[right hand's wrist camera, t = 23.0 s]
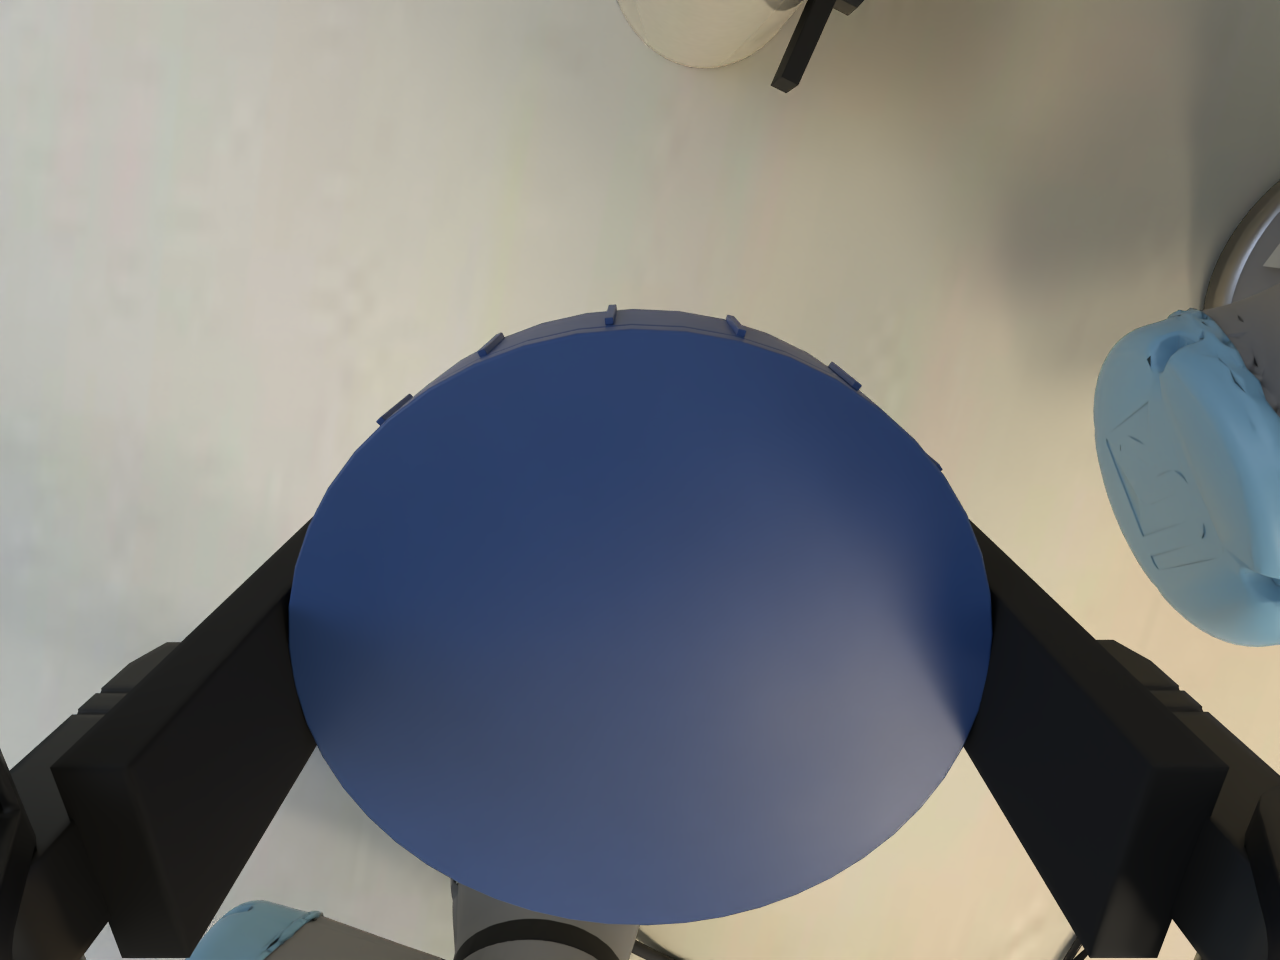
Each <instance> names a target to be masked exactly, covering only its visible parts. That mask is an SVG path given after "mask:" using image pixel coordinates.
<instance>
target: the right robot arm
mask: <svg viewBox="0 0 1280 960" xmlns="http://www.w3.org/2000/svg"><path fill="white" fill-rule="evenodd" d="M312 518H313V517H312ZM312 518H311V519H310V520H309V521H308V522H307V523H306V524H305V525H304V526H303V527H302V528H301V529H300V530H299V531H298V532H296V533H295V534H294V535H293V536H292V537H291V538H290V539H289V540H288V541H287V542H286V543H285V544H284V545H283V546H282V547H281V548H280V549H279V550H278V551H277V552H275V553H274V554H273V555H272V556H271V557H270V558H269V559H268V560H267V561H266V562H265V563H264V564H263V565H262V566H261V567H260V568H259V569H258V570H257V571H255V572H254V573H253V574H252V575H251V576H250V577H249V578H248V579H247V580H246V581H245V582H244V583H243V584H242V585H241V586H240V587H239V588H238V589H237V590H236V591H234V592H233V593H232V594H231V595H230V596H229V597H228V598H227V599H226V600H225V601H224V602H223V603H222V604H221V605H220V606H219V607H218V608H217V609H216V610H215V611H213V612H212V613H211V614H210V615H209V616H208V617H207V618H206V619H205V620H204V621H203V622H202V623H201V624H200V625H199V626H198V627H197V628H196V629H195V630H193V631H192V632H191V633H190V634H189V635H188V636H187V637H186V638H185V639H184V640H183V641H182V642H167V643H165V644H163V645H161V646H159V647H158V648H156V649H154V650H152V651H151V652H149V653H147V654H145V655H143V656H142V657H140V658H138V659H136V660H135V661H133V662H131V663H129V664H128V665H127V666H126V667H125V668H124V669H122V670H121V671H120V672H119V673H118V674H117V675H116V676H115V677H114V678H112V679H111V680H110V681H109V682H108V683H107V684H106V685H105V686H104V687H102V688H101V689H102V691H101V693H96V694H95V695H93V696H92V697H91V698H90V699H89V700H88V701H87V702H86V703H85V704H83V705H82V706H81V707H80V708H79V709H78V714H77V715H71V716H70V717H69V718H68V719H67V720H66V721H64V722H63V723H62V724H61V725H60V726H59V727H58V728H57V729H56V730H54V731H53V732H52V733H51V734H50V735H49V736H48V737H47V738H46V739H44V740H43V741H42V742H41V743H40V744H39V745H38V746H37V747H35V748H34V749H33V750H32V751H31V752H30V753H29V754H28V755H27V756H25V757H24V758H23V759H22V760H21V761H20V762H19V763H18V764H17V765H15V766H14V767H13V768H12V769H11V770H10V771H9V769H8V767H7V764H6V762H5V759H4V757H3V754H2V752H1V749H0V960H86V958H85V956H84V953H85V952H86V951H87V949H88V948H89V947H90V945H91V944H92V943H93V941H94V940H95V939H96V937H97V936H98V935H99V933H100V932H101V931H102V929H103V928H104V926H105V925H106V924H107V922H109V925H110V927H111V930H112V932H113V935H114V938H115V940H116V943H117V946H118V948H119V951H120V954H121V956H122V958H186V959H185V960H444V959H442V958H440V957H437V956H434V955H431V954H428V953H425V952H422V951H419V950H416V949H413V948H410V947H407V946H404V945H401V944H398V943H396V942H393V941H390V940H387V939H385V938H382V937H379V936H376V935H374V934H371V933H368V932H365V931H362V930H360V929H357V928H354V927H351V926H349V925H346V924H343V923H340V922H337V921H335V920H332V919H329V918H326V917H324V916H323V913H322V912H319V911H311V912H305V911H301V910H297V909H293V908H290V907H286V906H283V905H279V904H276V903H272V902H269V901H264V900H255V901H249V902H246V903H243V904H241V905H239V906H237V907H235V908H233V909H232V910H230V911H229V912H228V913H226V914H225V915H224V916H223V917H222V918H221V919H220V920H219V921H218V922H217V923H216V924H215V925H214V926H213V927H212V928H211V929H210V930H209V931H208V932H207V933H206V934H205V936H204V937H203V938H202V936H203V935H204V933H205V931H206V930H207V928H208V926H209V925H210V923H211V921H212V920H213V918H214V916H215V915H216V913H217V911H218V910H219V908H220V906H221V905H222V903H223V901H224V899H225V898H226V896H227V894H228V893H229V891H230V889H231V888H232V886H233V884H234V883H235V881H236V879H237V878H238V876H239V874H240V873H241V871H242V869H243V868H244V866H245V864H246V863H247V861H248V859H249V858H250V856H251V854H252V853H253V851H254V849H255V848H256V846H257V844H258V843H259V841H260V839H261V838H262V836H263V834H264V833H265V831H266V829H267V828H268V826H269V824H270V823H271V821H272V819H273V818H274V816H275V814H276V813H277V811H278V809H279V808H280V806H281V804H282V803H283V801H284V799H285V798H286V796H287V794H288V793H289V791H290V789H291V788H292V786H293V784H294V783H295V781H296V779H297V777H298V776H299V774H300V772H301V771H302V769H303V767H304V766H305V764H306V762H307V761H308V759H309V757H310V756H311V754H312V752H313V751H314V749H315V747H316V746H317V744H316V742H315V739H314V737H313V735H312V733H311V731H310V729H309V727H308V725H307V723H306V720H305V717H304V714H303V710H302V707H301V704H300V701H299V698H298V695H297V691H296V687H295V682H294V677H293V672H292V665H291V659H290V653H289V602H290V595H291V589H292V583H293V576H294V570H295V565H296V562H297V559H298V556H299V553H300V550H301V547H302V544H303V541H304V538H305V535H306V532H307V529H308V526H309V524H310V522H311V520H312ZM969 521H970V520H969ZM970 524H971V527H972V529H973V532H974V534H975V537H976V539H977V542H978V545H979V547H980V550H981V552H982V556H983V561H984V565H985V570H986V575H987V580H988V584H989V589H990V594H991V613H992V633H993V636H992V645H991V654H990V661H989V666H988V672H987V677H986V681H985V685H984V690H983V694H982V699H981V703H980V708H979V711H978V713H977V716H976V718H975V721H974V723H973V725H972V728H971V730H970V732H969V735H968V737H967V739H966V742H965V744H964V746H963V747H964V748H965V750H966V752H967V753H968V755H969V757H970V758H971V760H972V762H973V763H974V765H975V767H976V768H977V770H978V772H979V773H980V775H981V777H982V778H983V780H984V782H985V783H986V785H987V787H988V788H989V790H990V792H991V793H992V795H993V797H994V798H995V800H996V802H997V803H998V805H999V807H1000V808H1001V810H1002V812H1003V813H1004V815H1005V817H1006V818H1007V820H1008V822H1009V823H1010V825H1011V827H1012V828H1013V830H1014V832H1015V833H1016V835H1017V837H1018V838H1019V840H1020V842H1021V843H1022V845H1023V847H1024V848H1025V850H1026V852H1027V853H1028V855H1029V857H1030V859H1031V860H1032V862H1033V864H1034V865H1035V867H1036V869H1037V870H1038V872H1039V874H1040V875H1041V877H1042V879H1043V880H1044V882H1045V884H1046V885H1047V887H1048V889H1049V890H1050V892H1051V894H1052V895H1053V897H1054V899H1055V900H1056V902H1057V904H1058V905H1059V907H1060V909H1061V910H1062V912H1063V914H1064V915H1065V917H1066V919H1067V920H1068V922H1069V924H1070V925H1071V927H1072V929H1073V930H1074V932H1075V934H1076V935H1077V937H1078V939H1079V940H1080V942H1081V944H1082V945H1083V947H1084V949H1085V950H1086V952H1087V954H1088V955H1089V957H1090V958H1157V957H1158V955H1159V952H1160V949H1161V947H1162V944H1163V941H1164V939H1165V936H1166V933H1167V931H1168V928H1169V926H1170V923H1171V920H1172V919H1173V920H1174V922H1175V923H1176V924H1177V926H1178V927H1179V928H1180V930H1181V931H1182V933H1183V934H1184V935H1185V937H1186V938H1187V939H1188V941H1189V942H1190V943H1191V945H1192V946H1193V947H1194V949H1195V950H1196V951H1197V953H1196V956H1195V958H1194V960H1280V775H1279V774H1277V773H1276V772H1275V771H1274V770H1273V769H1272V768H1271V767H1270V766H1268V765H1267V764H1266V763H1265V762H1264V761H1263V760H1262V759H1261V758H1259V757H1258V756H1257V755H1256V754H1255V753H1254V752H1253V751H1252V750H1250V749H1249V748H1248V747H1247V746H1246V745H1245V744H1244V743H1243V742H1241V741H1240V740H1239V739H1238V738H1237V737H1236V736H1235V735H1234V734H1232V733H1231V732H1230V731H1229V730H1228V729H1227V728H1226V727H1225V726H1223V725H1222V724H1221V723H1220V722H1219V721H1218V720H1217V719H1216V718H1215V717H1213V716H1212V715H1211V714H1210V713H1209V712H1203V710H1202V706H1201V705H1200V704H1199V703H1198V702H1197V701H1195V700H1194V699H1193V698H1192V697H1191V696H1190V695H1189V694H1188V693H1186V692H1185V691H1180V690H1179V685H1177V684H1176V683H1175V682H1174V681H1173V680H1172V679H1171V678H1170V677H1168V676H1167V675H1166V674H1165V673H1164V672H1163V671H1162V670H1161V669H1159V668H1158V667H1157V666H1156V665H1155V664H1154V663H1153V662H1152V661H1150V660H1148V659H1147V658H1145V657H1143V656H1141V655H1139V654H1138V653H1136V652H1134V651H1132V650H1130V649H1129V648H1127V647H1125V646H1123V645H1122V644H1120V643H1118V642H1116V641H1114V640H1095V639H1094V638H1093V637H1092V636H1091V635H1090V634H1089V633H1088V632H1087V631H1086V630H1085V629H1084V628H1083V627H1082V626H1081V625H1080V624H1079V623H1078V622H1077V621H1075V620H1074V619H1073V618H1072V617H1071V616H1070V615H1069V614H1068V613H1067V612H1066V611H1065V610H1064V609H1063V608H1062V607H1061V606H1060V605H1059V604H1058V603H1057V602H1056V601H1054V600H1053V599H1052V598H1051V597H1050V596H1049V595H1048V594H1047V593H1046V592H1045V591H1044V590H1043V589H1042V588H1041V587H1040V586H1039V585H1038V584H1037V583H1036V582H1035V581H1033V580H1032V579H1031V578H1030V577H1029V576H1028V575H1027V574H1026V573H1025V572H1024V571H1023V570H1022V569H1021V568H1020V567H1019V566H1018V565H1017V564H1016V563H1015V562H1013V561H1012V560H1011V559H1010V558H1009V557H1008V556H1007V555H1006V554H1005V553H1004V552H1003V551H1002V550H1001V549H1000V548H999V547H998V546H997V545H996V544H995V543H994V542H992V541H991V540H990V539H989V538H988V537H987V536H986V535H985V534H984V533H983V532H982V531H981V530H980V529H979V528H978V527H977V526H976V525H975V524H974V523H973V522H971V521H970ZM451 893H452V899H453V928H454V944H455V955H454V960H629V958H630V955H631V952H632V953H634V954H636V955H638V956H640V957H642V958H644V959H646V960H675V959H673V958H670V957H668V956H666V955H664V954H662V953H661V952H659V951H657V950H655V949H652V948H650V947H648V946H646V945H644V944H642V943H641V942H639V941H637V940H635V939H636V936H637V933H638V929H639V926H640V925H624V924H604V923H596V922H588V921H580V920H572V919H567V918H562V917H558V916H553V915H549V914H544V913H540V912H535V911H531V910H528V909H525V908H522V907H519V906H516V905H513V904H510V903H506V902H503V901H500V900H497V899H495V898H492V897H490V896H488V895H485V894H483V893H481V892H479V891H476V890H474V889H472V888H469V887H467V886H465V885H463V884H460V883H459V882H457V881H455V880H453V879H452V878H451ZM201 938H202V939H201Z"/></svg>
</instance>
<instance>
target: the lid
mask: <svg viewBox="0 0 1280 960" xmlns="http://www.w3.org/2000/svg"><path fill="white" fill-rule="evenodd" d="M861 386H862V385H861V384H860V383H858V382H857V381H856V380H855V379H853V378H852V377H851V376H850V375H848V374H847V373H846V372H845V371H844V370H842V369H841V368H840V367H839V366H837V365H836V364H835V363H833V362H831V363H830V365H829V366H826V365H825V364H823V363H822V362H820V361H819V360H817V359H816V358H814V357H813V356H811V355H810V354H808V353H807V352H805V351H803V350H801V349H799V348H796V347H794V346H792V345H790V344H788V343H786V342H784V341H782V340H780V339H778V338H776V337H774V336H772V335H770V334H768V333H765V332H762V331H758V330H755V329H752V328H749V327H746V326H743V325H741V324H740V323H739V322H738V320H737V319H736V318H735V317H734V316H731V315H727V317H726V320H725V319H719V318H714V317H708V316H703V315H697V314H692V313H686V312H681V311H664V310H641V309H628V310H617V307H616V305H609V307H608V310H607V311H606V312H595V313H585V314H581V315H576V316H572V317H568V318H563V319H559V320H554V321H550V322H546V323H541V324H539V325H536V326H533V327H531V328H528V329H525V330H523V331H520V332H517V333H515V334H512V335H509V336H507V337H504V335H503V333H499V334H497V335H495V336H494V337H493V338H492V339H491V340H490V341H489V342H487V343H486V344H485V345H484V346H483V347H482V348H481V349H480V350H478V351H477V352H475V353H473V354H471V355H470V356H468V357H466V358H464V359H462V360H461V361H459V362H458V363H457V364H455V365H454V366H452V367H451V368H450V369H448V370H447V371H446V372H444V373H443V374H442V375H440V376H439V377H438V378H436V379H435V380H434V381H432V382H431V383H430V384H428V385H427V386H426V387H425V388H423V389H422V390H421V391H420V392H419V393H417V394H416V395H415V396H414V397H413V396H412V395H411V394H408V395H407V396H406V397H405V398H404V399H402V400H401V401H400V402H399V403H397V404H396V405H395V406H394V407H392V408H391V409H390V410H389V411H388V412H386V413H385V414H384V415H383V416H381V417H380V418H379V419H378V420H377V421H376V422H377V423H378V424H379V425H380V427H379V428H378V429H377V430H376V431H375V432H374V433H373V434H372V435H371V436H370V437H369V438H368V439H367V440H366V441H365V442H364V443H363V444H362V445H361V446H360V447H359V448H358V449H357V450H356V451H355V452H354V453H353V455H352V456H351V457H350V459H349V460H348V462H347V463H346V464H345V466H344V467H343V468H342V470H341V471H340V472H339V474H338V475H337V477H336V478H335V479H334V481H333V482H332V483H331V485H330V486H329V487H328V489H327V491H326V493H325V495H324V497H323V499H322V501H321V503H320V505H319V507H318V508H317V510H316V512H315V514H314V516H313V518H312V520H311V522H310V524H309V526H308V529H307V532H306V535H305V538H304V541H303V544H302V547H301V550H300V553H299V556H298V559H297V562H296V565H295V570H294V576H293V583H292V589H291V595H290V602H289V653H290V659H291V665H292V672H293V677H294V682H295V687H296V691H297V695H298V698H299V701H300V704H301V707H302V710H303V714H304V717H305V720H306V723H307V725H308V727H309V729H310V731H311V733H312V735H313V737H314V739H315V742H316V744H317V746H318V748H319V750H320V752H321V754H322V756H323V758H324V759H325V761H326V762H327V764H328V765H329V767H330V768H331V770H332V771H333V773H334V774H335V776H336V777H337V779H338V780H339V782H340V783H341V785H342V786H343V788H344V789H345V790H346V792H347V793H348V794H349V795H350V796H351V797H352V798H353V800H354V801H355V802H356V803H357V804H358V805H359V807H360V808H361V809H362V810H363V811H364V812H365V814H366V815H367V816H368V817H369V818H370V819H371V820H372V821H373V822H375V823H376V824H377V825H378V826H379V827H380V828H381V829H382V830H383V831H384V832H386V833H387V834H388V835H389V836H390V837H391V838H392V839H393V840H394V841H395V842H397V843H398V844H399V845H401V846H402V847H403V848H405V849H406V850H408V851H409V852H410V853H412V854H413V855H415V856H416V857H417V858H419V859H420V860H421V861H423V862H424V863H426V864H427V865H429V866H430V867H432V868H434V869H436V870H438V871H439V872H441V873H443V874H445V875H446V876H448V877H450V878H452V879H453V880H455V881H457V882H459V883H460V884H463V885H465V886H467V887H469V888H472V889H474V890H476V891H479V892H481V893H483V894H485V895H488V896H490V897H492V898H495V899H497V900H500V901H503V902H506V903H510V904H513V905H516V906H519V907H522V908H525V909H528V910H531V911H535V912H540V913H544V914H549V915H553V916H558V917H562V918H567V919H572V920H580V921H588V922H596V923H604V924H624V925H658V924H674V923H687V922H694V921H700V920H706V919H713V918H719V917H725V916H729V915H733V914H737V913H740V912H744V911H748V910H752V909H756V908H760V907H763V906H766V905H769V904H771V903H774V902H777V901H780V900H782V899H785V898H788V897H791V896H793V895H796V894H798V893H801V892H803V891H805V890H807V889H809V888H811V887H813V886H815V885H817V884H819V883H821V882H823V881H826V880H828V879H830V878H832V877H833V876H835V875H837V874H838V873H840V872H841V871H843V870H845V869H846V868H848V867H850V866H851V865H853V864H854V863H856V862H858V861H859V860H861V859H863V858H864V857H865V856H867V855H868V854H869V853H871V852H872V851H873V850H874V849H876V848H877V847H878V846H880V845H881V844H882V843H883V842H885V841H886V840H887V839H889V838H890V837H891V836H892V835H894V834H895V833H896V832H897V831H898V830H899V829H900V828H901V827H902V826H903V825H904V824H905V823H906V822H907V821H908V820H909V819H910V818H911V817H912V816H913V815H914V814H915V813H916V812H917V811H918V810H919V809H920V808H921V807H922V806H923V804H924V803H925V802H926V801H927V799H928V798H929V797H930V796H931V794H932V793H933V792H934V791H935V789H936V788H937V787H938V785H939V784H940V783H941V782H942V780H943V779H944V778H945V776H946V774H947V773H948V771H949V769H950V768H951V766H952V764H953V763H954V761H955V759H956V758H957V756H958V754H959V753H960V751H961V749H962V748H963V746H964V744H965V742H966V739H967V737H968V735H969V732H970V730H971V728H972V725H973V723H974V721H975V718H976V716H977V713H978V711H979V708H980V703H981V699H982V694H983V690H984V685H985V681H986V677H987V672H988V666H989V661H990V654H991V645H992V636H993V633H992V613H991V594H990V589H989V584H988V580H987V575H986V570H985V565H984V561H983V556H982V552H981V550H980V547H979V545H978V542H977V539H976V537H975V534H974V532H973V529H972V527H971V524H970V521H969V519H968V516H967V514H966V512H965V510H964V509H963V507H962V505H961V503H960V502H959V500H958V498H957V497H956V495H955V493H954V491H953V490H952V488H951V486H950V485H949V483H948V481H947V479H946V478H945V476H944V475H943V473H942V472H941V471H942V468H941V466H940V465H939V464H938V463H937V462H936V461H935V460H934V459H932V458H931V457H930V456H929V455H928V454H927V453H925V451H924V450H923V449H922V448H921V446H920V445H919V444H918V443H917V442H916V440H915V439H914V438H913V437H911V436H910V435H909V434H908V433H907V432H906V431H905V430H904V429H903V428H902V427H900V426H899V425H898V424H897V423H896V422H895V421H894V420H893V419H892V418H890V417H889V416H888V415H887V414H886V413H885V412H884V411H883V410H882V409H881V408H879V407H878V406H877V405H876V404H875V403H874V402H872V401H871V400H870V399H869V398H868V397H866V396H865V395H864V394H863V393H862V392H860V391H859V389H860V387H861Z"/></svg>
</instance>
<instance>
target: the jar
mask: <svg viewBox="0 0 1280 960" xmlns="http://www.w3.org/2000/svg"><path fill="white" fill-rule="evenodd" d="M617 1H618V3H619V6H620V8H621V11H622V12H623V14H624V16H625V18H626V20H627V22H628V23H629V25H630V26H631V27H632V29H633V30H634V32H635V33H636V34H637V35H638V36H639V37H640V39H641V40H642V41H643V42H644V43H645V44H646V45H647V46H649V47H650V48H651V49H652V50H654V51H655V52H656V53H658V54H659V55H661V56H663V57H664V58H666V59H668V60H670V61H673V62H675V63H677V64H681V65H685V66H689V67H696V68H716V67H721V66H726V65H730V64H732V63H735V62H738V61H741V60H743V59H744V58H746V57H748V56H750V55H752V54H753V53H755V52H756V51H758V50H759V49H761V48H762V47H763V46H764V45H765V44H766V43H768V42H769V41H770V40H771V39H772V38H773V37H774V36H775V35H776V33H777V32H778V31H779V30H780V29H781V28H782V26H783V25H784V24H785V23H786V22H787V20H788V19H789V18H790V17H791V16H792V14H793V13H794V12H795V11H796V10H797V8H798V7H799V6H800V5H801V4H802V2H803V1H804V0H617Z"/></svg>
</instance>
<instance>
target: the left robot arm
mask: <svg viewBox="0 0 1280 960" xmlns="http://www.w3.org/2000/svg"><path fill="white" fill-rule="evenodd" d="M863 1H864V0H808V1H807V3H806V5H805V8H804V10H803V12H802V15H801V17H800V19H799V22H798V24H797V26H796V28H795V31H794V33H793V35H792V38H791V40H790V42H789V45H788V47H787V49H786V51H785V54H784V56H783V58H782V61H781V63H780V65H779V68H778V70H777V72H776V74H775V77H774V79H773V81H772V84H771V86H773V87H775V88H777V89H779V90H781V91H783V92H785V93H787V92H789V91H790V90H792V89H793V88H794V87H796V86H797V85H798V84H799V82H800V80H801V78H802V75H803V73H804V71H805V69H806V67H807V64H808V62H809V60H810V58H811V55H812V53H813V51H814V49H815V46H816V44H817V42H818V40H819V38H820V35H821V33H822V31H823V29H824V26H825V24H826V22H827V20H828V17H829V15H830V13H831V11H832V9H833V8H834V9H836V10H838V11H840V12H842V13H844V14H846V15H849V14H850V13H852V12H853V11H854V10H855V9H856V8H857V7H858V6H859V5H860V4H861V3H862V2H863ZM1094 426H1095V442H1096V450H1097V455H1098V461H1099V465H1100V469H1101V473H1102V477H1103V481H1104V485H1105V488H1106V492H1107V495H1108V498H1109V501H1110V504H1111V506H1112V509H1113V512H1114V515H1115V517H1116V519H1117V522H1118V524H1119V526H1120V529H1121V531H1122V533H1123V535H1124V537H1125V539H1126V541H1127V543H1128V545H1129V547H1130V549H1131V551H1132V552H1133V554H1134V556H1135V558H1136V560H1137V561H1138V563H1139V564H1140V566H1141V568H1142V569H1143V571H1144V572H1145V574H1146V575H1147V576H1148V578H1149V579H1150V581H1151V582H1152V583H1153V584H1154V585H1155V586H1156V587H1157V588H1158V590H1159V591H1160V593H1161V595H1162V596H1163V597H1164V598H1165V599H1166V601H1167V602H1168V603H1169V604H1170V605H1171V606H1172V607H1173V608H1174V609H1175V610H1176V611H1177V612H1178V613H1180V614H1181V615H1182V616H1183V617H1184V618H1185V619H1186V620H1188V621H1189V622H1190V623H1192V624H1193V625H1194V626H1196V627H1197V628H1199V629H1200V630H1202V631H1203V632H1205V633H1207V634H1209V635H1211V636H1213V637H1215V638H1218V639H1220V640H1222V641H1225V642H1228V643H1232V644H1235V645H1241V646H1250V647H1264V646H1272V645H1280V181H1279V182H1277V183H1276V184H1275V185H1274V186H1273V187H1272V188H1271V189H1270V190H1269V191H1268V192H1267V193H1266V194H1265V195H1264V196H1263V197H1262V198H1261V199H1260V200H1259V201H1258V202H1257V203H1256V204H1255V205H1254V207H1253V208H1252V209H1251V210H1250V211H1249V212H1248V214H1247V215H1246V216H1245V217H1244V219H1243V220H1242V221H1241V223H1240V224H1239V225H1238V227H1237V228H1236V230H1235V231H1234V233H1233V234H1232V236H1231V237H1230V239H1229V241H1228V242H1227V244H1226V246H1225V248H1224V250H1223V252H1222V253H1221V255H1220V258H1219V260H1218V262H1217V264H1216V266H1215V269H1214V271H1213V274H1212V277H1211V280H1210V283H1209V286H1208V290H1207V294H1206V298H1205V304H1204V310H1202V311H1199V310H1196V309H1193V308H1189V309H1188V310H1187V311H1182V310H1178V311H1176V312H1174V313H1172V314H1171V315H1170V316H1169V317H1168V318H1167V319H1166V320H1163V321H1160V322H1156V323H1153V324H1149V325H1146V326H1143V327H1140V328H1138V329H1135V330H1133V331H1132V332H1130V333H1128V334H1127V335H1125V336H1124V337H1123V338H1122V339H1120V340H1119V341H1118V342H1117V343H1116V344H1115V346H1114V347H1113V348H1112V349H1111V351H1110V352H1109V354H1108V356H1107V357H1106V359H1105V361H1104V363H1103V365H1102V368H1101V370H1100V373H1099V376H1098V380H1097V385H1096V390H1095V397H1094Z"/></svg>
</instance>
